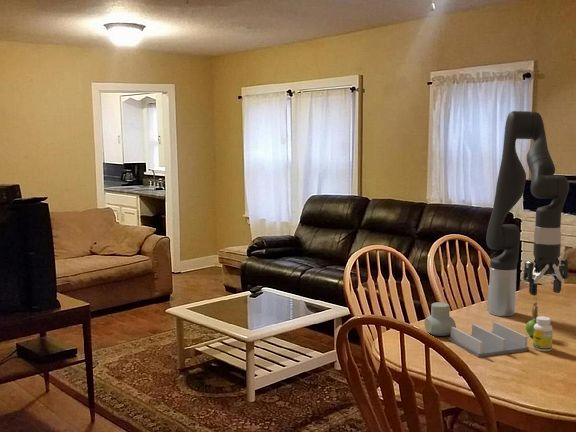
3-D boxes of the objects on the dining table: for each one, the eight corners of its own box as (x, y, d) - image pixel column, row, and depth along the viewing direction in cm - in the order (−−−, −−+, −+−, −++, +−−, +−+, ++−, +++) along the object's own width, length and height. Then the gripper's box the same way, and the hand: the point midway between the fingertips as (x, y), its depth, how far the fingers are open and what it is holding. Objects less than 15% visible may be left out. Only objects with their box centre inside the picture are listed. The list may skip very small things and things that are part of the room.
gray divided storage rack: (448, 340, 195) (448, 326, 195) (496, 334, 201) (496, 321, 200) (478, 357, 180) (478, 342, 180) (528, 350, 186) (529, 336, 185)
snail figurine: (542, 333, 201) (543, 298, 200) (543, 339, 195) (545, 303, 194) (524, 331, 203) (526, 297, 202) (525, 337, 197) (527, 302, 196)
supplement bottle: (529, 346, 190) (530, 315, 188) (546, 345, 190) (547, 315, 189) (538, 352, 184) (539, 321, 183) (555, 351, 185) (556, 320, 183)
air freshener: (422, 329, 207) (423, 300, 206) (445, 328, 208) (446, 299, 207) (433, 339, 197) (433, 309, 195) (457, 338, 197) (458, 308, 196)
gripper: (557, 238, 188) (555, 289, 191) (519, 240, 184) (517, 292, 186) (575, 241, 181) (573, 294, 183) (536, 244, 177) (533, 298, 179)
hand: (544, 293), depth 185 cm, fingers open, 8 cm apart
